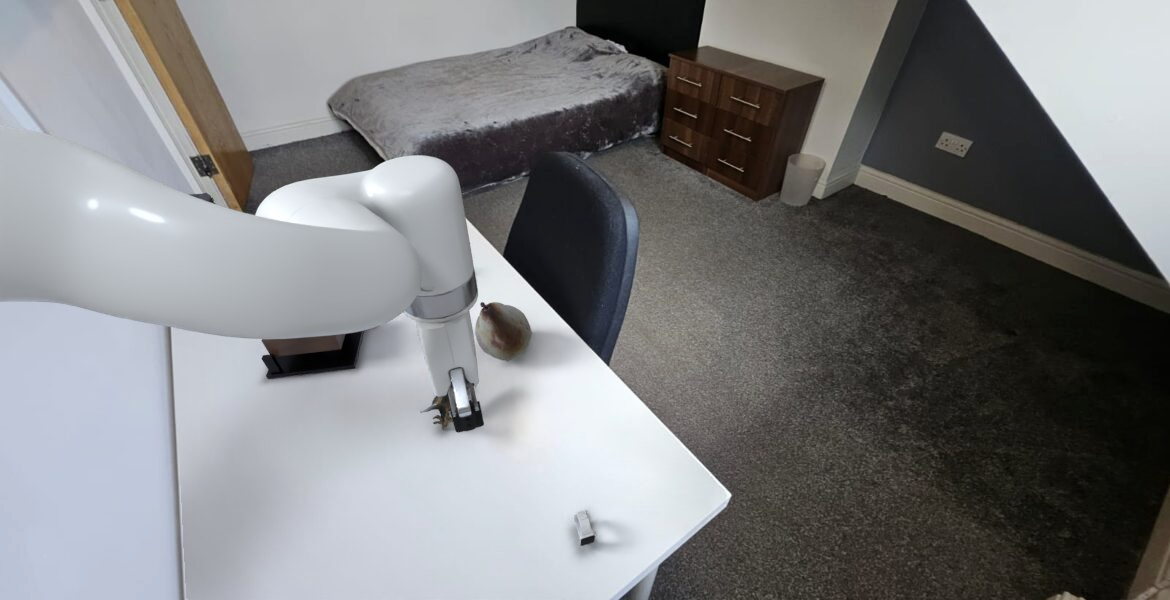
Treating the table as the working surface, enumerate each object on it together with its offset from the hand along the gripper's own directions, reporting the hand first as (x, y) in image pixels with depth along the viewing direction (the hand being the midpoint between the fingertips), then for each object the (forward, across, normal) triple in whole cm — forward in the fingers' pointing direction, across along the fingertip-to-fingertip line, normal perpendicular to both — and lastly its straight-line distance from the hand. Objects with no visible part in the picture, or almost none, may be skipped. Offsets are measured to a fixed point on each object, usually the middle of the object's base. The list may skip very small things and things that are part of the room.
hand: (463, 394), depth 57 cm
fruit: (+17, -22, +8) cm, 29 cm away
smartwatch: (+17, +14, +11) cm, 25 cm away
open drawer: (+13, -33, -22) cm, 41 cm away
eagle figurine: (+17, -11, -2) cm, 21 cm away
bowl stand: (+17, -33, -23) cm, 44 cm away
